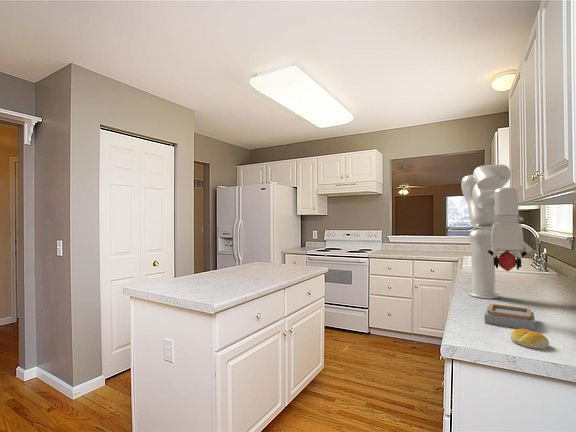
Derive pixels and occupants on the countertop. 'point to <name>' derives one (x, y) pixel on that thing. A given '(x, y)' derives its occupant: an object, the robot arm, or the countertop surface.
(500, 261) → the pomegranate
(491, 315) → the stand
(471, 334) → the countertop surface
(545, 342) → the bread roll
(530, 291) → the countertop surface
